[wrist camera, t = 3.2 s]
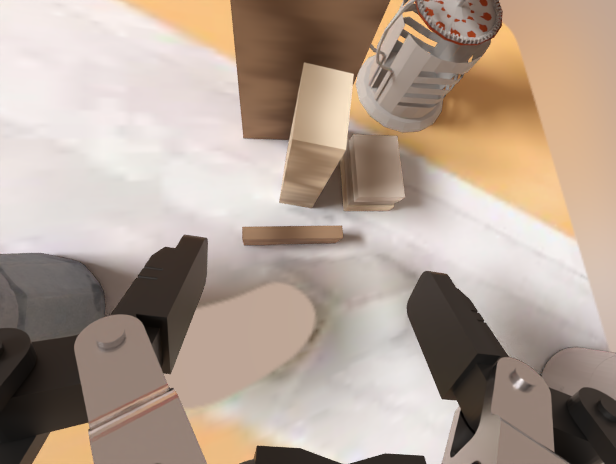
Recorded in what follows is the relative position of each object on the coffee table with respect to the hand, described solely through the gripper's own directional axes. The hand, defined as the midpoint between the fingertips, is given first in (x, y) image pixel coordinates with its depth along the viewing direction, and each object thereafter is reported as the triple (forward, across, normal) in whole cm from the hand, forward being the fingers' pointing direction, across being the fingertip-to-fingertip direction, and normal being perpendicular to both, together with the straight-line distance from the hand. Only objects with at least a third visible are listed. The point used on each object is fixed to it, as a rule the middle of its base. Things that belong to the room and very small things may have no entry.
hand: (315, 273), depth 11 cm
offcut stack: (+18, -6, +3) cm, 19 cm away
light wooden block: (+17, 0, +3) cm, 18 cm away
